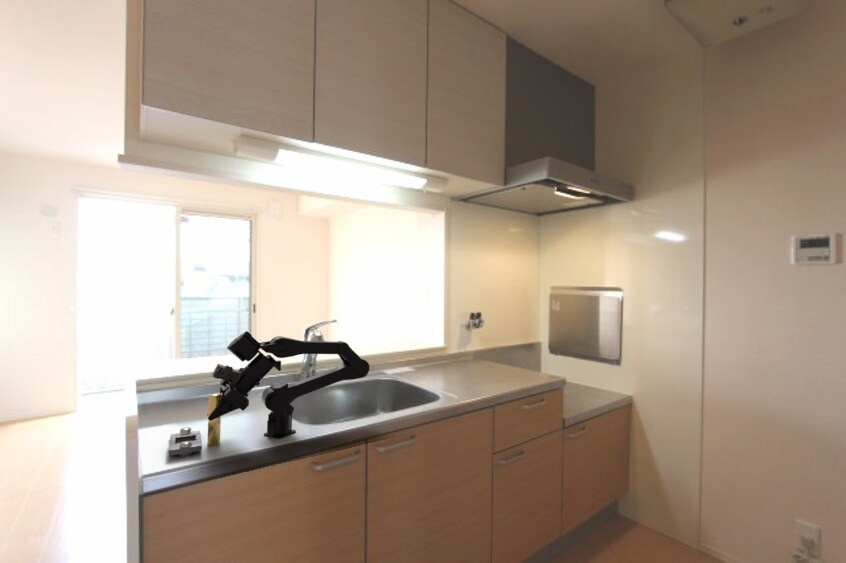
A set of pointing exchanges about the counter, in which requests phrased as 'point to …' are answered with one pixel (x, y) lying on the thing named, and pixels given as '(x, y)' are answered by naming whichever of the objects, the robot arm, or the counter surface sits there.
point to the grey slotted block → (185, 442)
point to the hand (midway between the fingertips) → (208, 417)
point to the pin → (214, 421)
